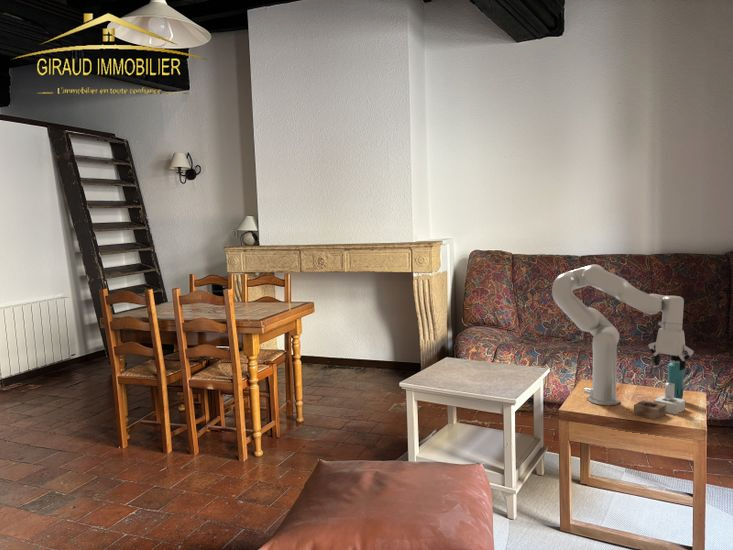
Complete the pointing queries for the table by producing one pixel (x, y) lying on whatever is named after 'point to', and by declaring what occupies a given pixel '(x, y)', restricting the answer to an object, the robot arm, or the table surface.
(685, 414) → the table surface
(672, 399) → the steel peg
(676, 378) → the beverage bottle
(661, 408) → the socket block
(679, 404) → the block
